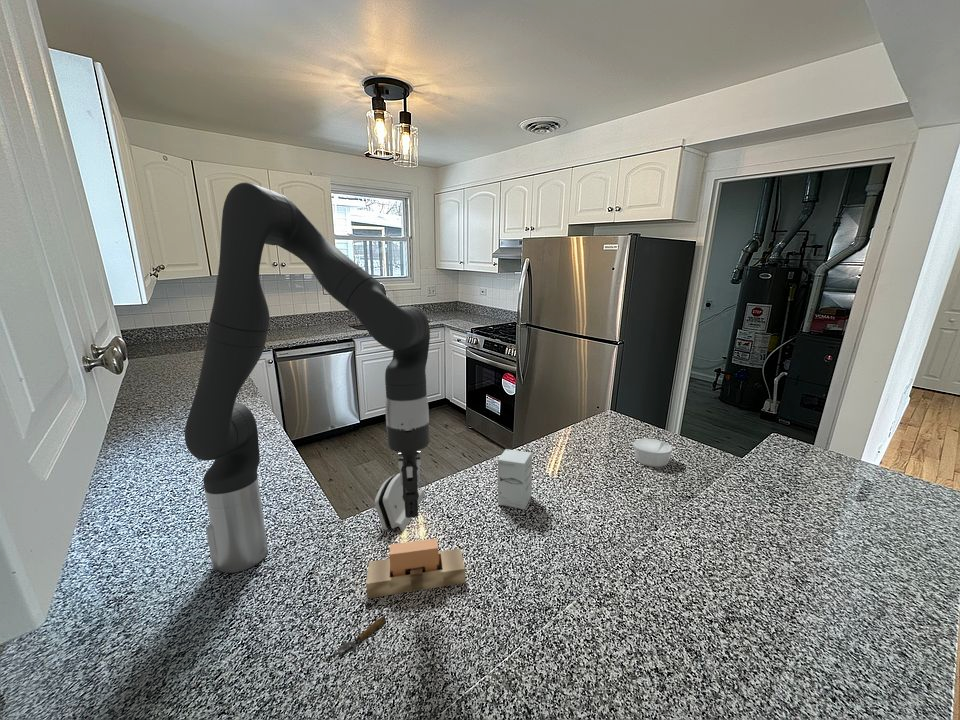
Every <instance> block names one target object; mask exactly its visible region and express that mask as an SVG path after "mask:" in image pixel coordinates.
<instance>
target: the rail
mask: <svg viewBox="0 0 960 720" xmlns="http://www.w3.org/2000/svg"><path fill="white" fill-rule="evenodd" d="M438 555H439V565H437V570H436V571H430V572H426V571H425V567H418V568H411V569H406V573H410V574H406V575H403V576H397V577H393V576H392V575H393V571H391V570H390V558H385V559H379V560H371V561H368V566H367V575H366V581H365V587H366V597H367V599H372V598H378V597H383V596H384V597H385V596H391V595H397V594H402V593H403V594H405V593H409V592H416V591H417V592H418V591H422V590H429V589H435V588H442V587H448V586H454V585H460V584H465V583H466V570H465V569H466V567H465V563H464V558H463V553H462V549H461V548H456V549H447V550H441V551H439V550H438ZM438 568H441V569H438ZM423 571H424V572H423ZM391 574H392V575H391Z"/></svg>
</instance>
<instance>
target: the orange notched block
mask: <svg viewBox="0 0 960 720" xmlns="http://www.w3.org/2000/svg"><path fill="white" fill-rule="evenodd" d="M388 552H389V559H390V570H391V571H393V574H392V577H397V576H403V575H407V572H406V569H411V568H418V567H425V569H424V572H430V571H436V570H438V568H437V565H439V555H438V552H439V545H438V538H437V537H436V538H427V539H422V540H421V539H420V540H413V541H406V542H397V543H392V544H389V551H388Z"/></svg>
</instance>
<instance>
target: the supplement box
mask: <svg viewBox="0 0 960 720" xmlns="http://www.w3.org/2000/svg"><path fill="white" fill-rule="evenodd" d="M532 459H533V453H532V452H529V451H521V450H515V449H508V448H505V449H504V450H503V452H502V453H501V454H500V456H499V457H498V458H497V505H499V506H503V507H504V506H506V507H511V508H516V509H520V510H525V509H526V508H527V506H528V505H529V504H528V503H530V502H529V501H530V500H531V498H532V490H533V489H532V487H533V485H532V484H533V482H532V481H533V478H532V477H533V460H532Z"/></svg>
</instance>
